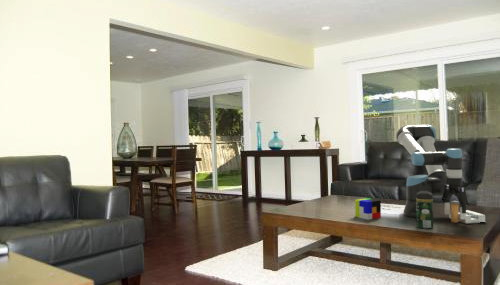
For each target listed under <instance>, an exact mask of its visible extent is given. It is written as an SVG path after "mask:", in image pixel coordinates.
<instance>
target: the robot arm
mask: <svg viewBox="0 0 500 285" xmlns="http://www.w3.org/2000/svg"><path fill="white" fill-rule="evenodd" d="M395 135H396V136H395V137H396V141H397V142H398V144H400V145H402V146H403V148H405V149H406V151H407V152H408V153H409V154H410V161H411V164H412V165H413V166H419V167H420V166H425V168H426V171H427V173H428V175H427V174H415V175H411V176H408V177H407V178H406V203H405V206H404V207H403V208H404V209H403V216H406V217H411V218H417V212H416V194H417V192H420V191H429V192H431V193H432V194H433V198H441V201H443V203H444V204H443V205H444V215H447V216H449V214H450V211H451V203H450V201H451V199H452V197H453V196H455V197H456V199H457V201H459V205H460V206H459V212H460V219H466V210H467V207H469V206H470V204H469V201H468V200H469V199H468V197H467V194H466V188H465V187H461V186H462V185H463V152H462V149H461V148H447V149H446V150H445V151H444V150H443V151H437V150H436V147H435V142H436V139H437V132H436V129H435V127H434V126H433V125H431V124H413V125H412V124H407V125H403V126H402V127H400V128H399V129H398V130H397V132H396V134H395ZM443 166H446V171H445V170H444V168H443Z"/></svg>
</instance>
